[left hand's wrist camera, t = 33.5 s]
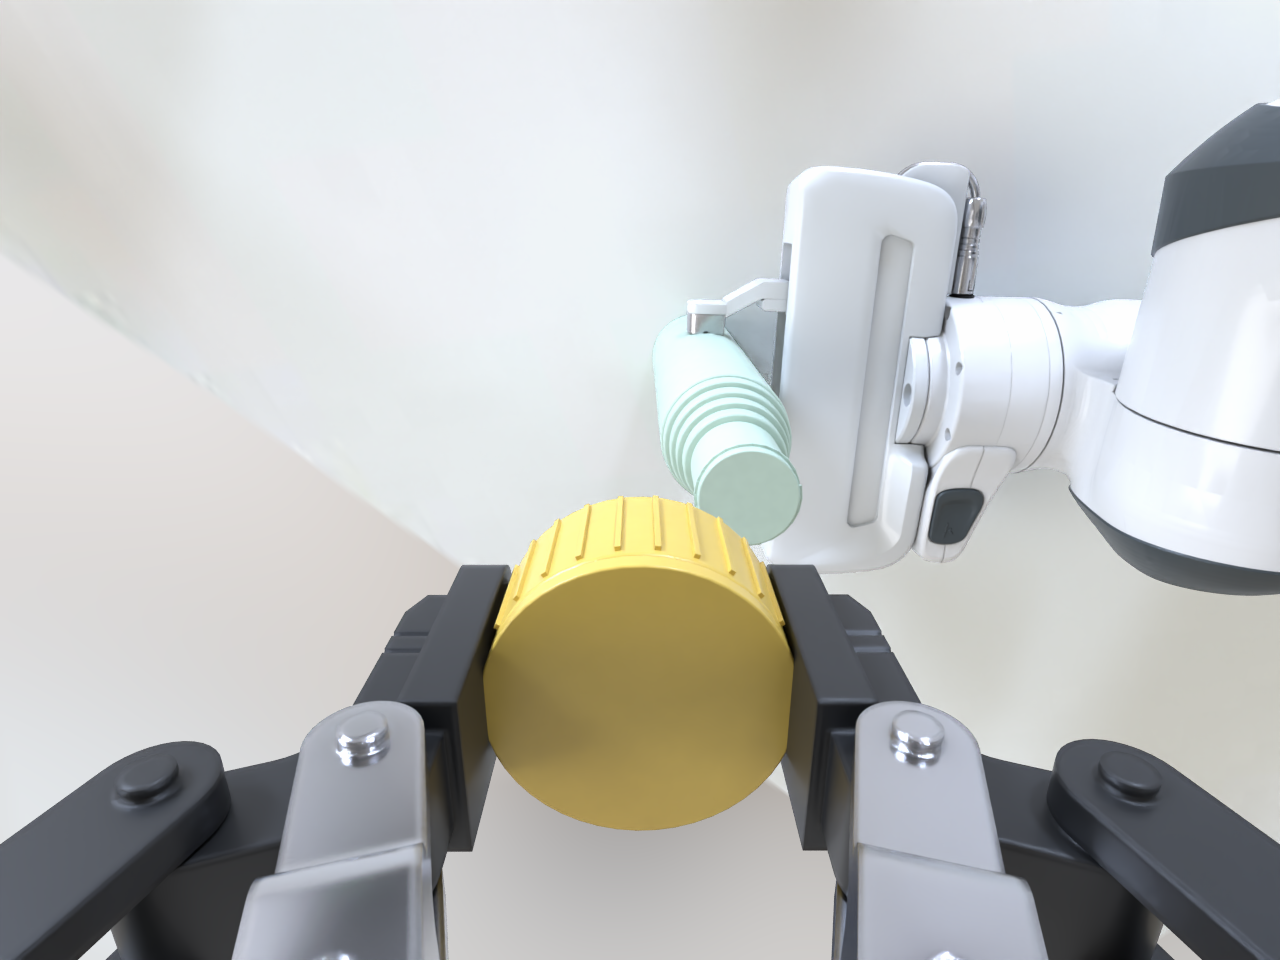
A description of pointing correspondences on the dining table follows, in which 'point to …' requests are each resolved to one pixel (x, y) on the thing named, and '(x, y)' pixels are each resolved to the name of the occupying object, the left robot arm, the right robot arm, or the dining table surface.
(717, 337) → the bottle
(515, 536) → the dining table surface
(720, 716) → the cap
